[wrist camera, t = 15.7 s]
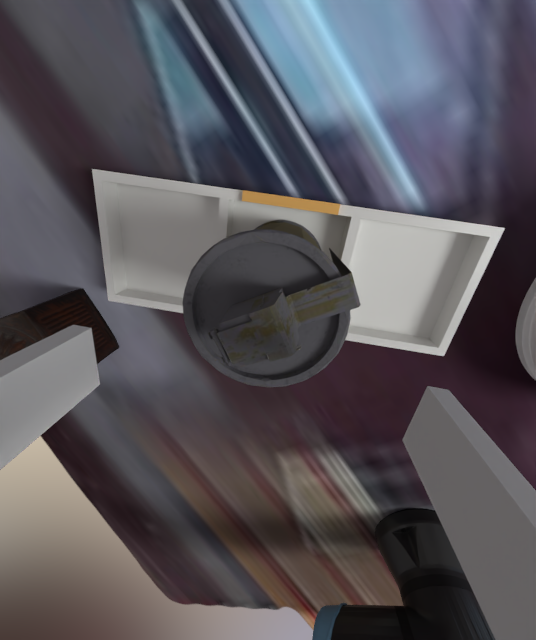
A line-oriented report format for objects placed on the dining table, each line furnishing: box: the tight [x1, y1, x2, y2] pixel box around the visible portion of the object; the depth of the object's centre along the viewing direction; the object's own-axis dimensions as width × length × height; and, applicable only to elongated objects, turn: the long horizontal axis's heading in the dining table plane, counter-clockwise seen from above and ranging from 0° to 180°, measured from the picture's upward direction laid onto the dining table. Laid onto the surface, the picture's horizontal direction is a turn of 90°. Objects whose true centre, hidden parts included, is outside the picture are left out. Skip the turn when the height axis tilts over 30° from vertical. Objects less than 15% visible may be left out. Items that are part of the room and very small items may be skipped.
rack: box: [92, 169, 505, 356], centre depth 31 cm, size 43×15×4 cm, turn 83°
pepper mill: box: [0, 289, 119, 364], centre depth 32 cm, size 16×11×18 cm
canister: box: [182, 220, 361, 387], centre depth 22 cm, size 11×10×20 cm
